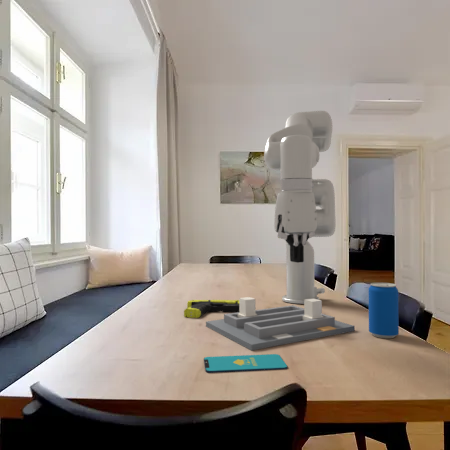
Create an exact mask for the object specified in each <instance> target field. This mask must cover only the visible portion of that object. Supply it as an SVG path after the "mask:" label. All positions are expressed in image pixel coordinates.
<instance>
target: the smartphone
mask: <svg viewBox="0 0 450 450" xmlns="http://www.w3.org/2000/svg"><path fill="white" fill-rule="evenodd" d="M203 364H204V371H205V372H206V373H207V374H215V373H216V374H217V373H235V372H236V373H238V372H256V371H257V372H258V371H277V370H278V371H279V370H287V369H288V368H289V367H288V365H287V364H286V362H285V360H284V359H283V358H282V357H281V355H280V354H276V353H272V354H268V353H267V354H250V355H249V354H246V355H243V354H242V355H241V354H240V355H223V356H221V355H220V356H219V355H217V356H206V357H204V358H203Z"/></svg>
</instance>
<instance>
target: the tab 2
mask: <svg viewBox="0 0 450 450" xmlns="http://www.w3.org/2000/svg"><path fill="white" fill-rule="evenodd" d="M322 304H323V301H322V300H321V299H319V300H317V299H306V300H304V304H303V305H304V306H303V308H304V316H303V321H304V320H311V319H317V318H323V317H324V316H322V314H323V313H322V311H323V310H322V309H323V305H322Z"/></svg>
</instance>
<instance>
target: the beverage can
mask: <svg viewBox="0 0 450 450" xmlns="http://www.w3.org/2000/svg"><path fill="white" fill-rule="evenodd" d="M369 284H370V285H369V287H368V332H369V333H371V335H372V336H374V337H377V338H380V339H393V338H395V337H396V336H398V335H399V334H400V333H399V330H400V328H399V327H400V326H399V325H400V323H399V322H400V321H399V320H400V319H399V290H398V288H397V284H395V283H390V282H371V283H369Z"/></svg>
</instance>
